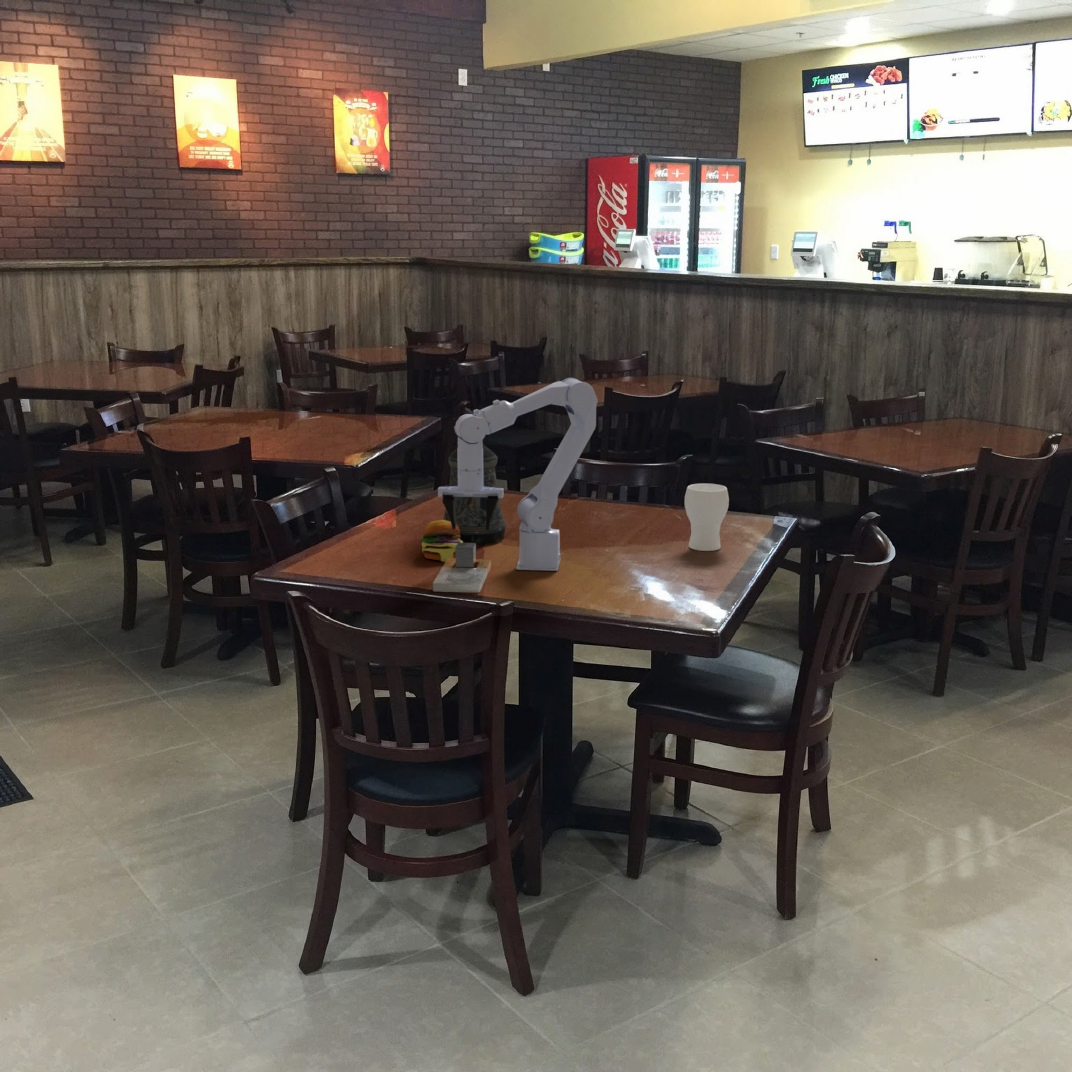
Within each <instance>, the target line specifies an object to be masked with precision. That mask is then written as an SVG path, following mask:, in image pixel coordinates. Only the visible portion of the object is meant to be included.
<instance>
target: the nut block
mask: <svg viewBox="0 0 1072 1072" xmlns="http://www.w3.org/2000/svg"><path fill="white" fill-rule="evenodd" d="M455 551H456V568H476V559H477V545H476V543H458V544H457V545H456V547H455Z"/></svg>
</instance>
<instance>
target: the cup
mask: <svg viewBox="0 0 1072 1072" xmlns="http://www.w3.org/2000/svg"><path fill="white" fill-rule="evenodd" d="M729 497H730V496H729V491H728V488H727V487H726V485H722V484H716V483H694V484H690V485H688V486H687V487H686V491H685V495H684V509H685V512H686V515H687V518H688V520H689V522H690V530H691V534H690V537H689V540H688V541H689V542H688V548H690V549H692V550H695V551H700V552H702V551H703V552H710V551H711V552H713V551H714V552H715V551H717V550H720V549H721V548H722V547H721V537H720V531H721V527H722V526H721V525H722V522H723V521H724V519H725V517H726V515H727V512H728V509H729V505H730V504H729V502H730V498H729Z"/></svg>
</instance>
